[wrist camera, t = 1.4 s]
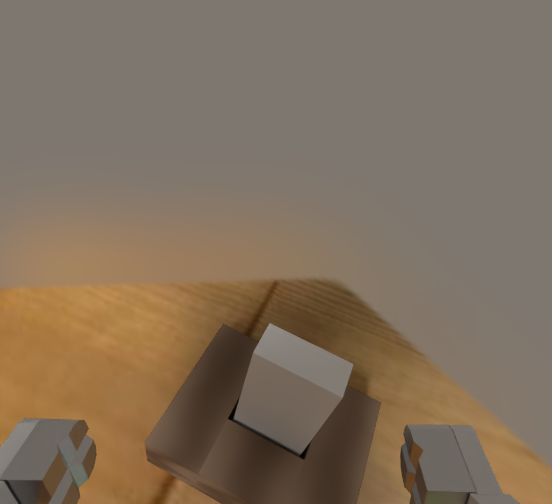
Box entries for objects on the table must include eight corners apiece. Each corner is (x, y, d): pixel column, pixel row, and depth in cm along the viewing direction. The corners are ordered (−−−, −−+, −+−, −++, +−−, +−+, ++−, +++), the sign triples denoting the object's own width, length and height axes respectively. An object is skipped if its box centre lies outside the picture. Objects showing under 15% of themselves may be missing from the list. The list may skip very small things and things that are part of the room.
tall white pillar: (229, 432, 35) (253, 352, 25) (242, 407, 36) (269, 322, 26) (291, 466, 34) (342, 397, 24) (302, 438, 35) (353, 364, 25)
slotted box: (147, 460, 33) (144, 442, 30) (219, 347, 41) (223, 323, 38) (325, 563, 30) (343, 555, 27) (363, 421, 39) (381, 402, 35)
